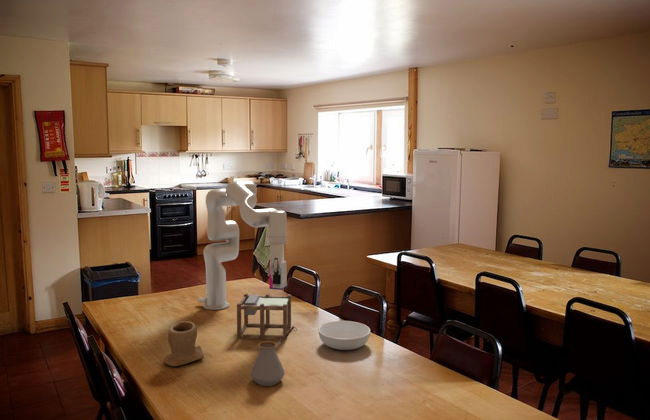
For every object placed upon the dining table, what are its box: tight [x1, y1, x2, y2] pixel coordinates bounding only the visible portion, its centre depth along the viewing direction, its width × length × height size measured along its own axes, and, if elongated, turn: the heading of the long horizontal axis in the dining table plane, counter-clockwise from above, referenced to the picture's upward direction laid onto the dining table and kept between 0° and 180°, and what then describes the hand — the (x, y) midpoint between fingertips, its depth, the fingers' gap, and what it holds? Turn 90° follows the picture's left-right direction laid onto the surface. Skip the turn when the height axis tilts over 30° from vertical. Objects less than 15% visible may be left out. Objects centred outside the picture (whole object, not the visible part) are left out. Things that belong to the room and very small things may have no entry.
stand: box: [236, 293, 292, 340], centre depth 227 cm, size 21×16×14 cm
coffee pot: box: [250, 326, 298, 387], centre depth 183 cm, size 21×12×15 cm, turn 147°
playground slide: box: [245, 294, 289, 316], centre depth 226 cm, size 17×13×5 cm
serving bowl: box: [317, 320, 371, 351], centre depth 213 cm, size 21×21×7 cm
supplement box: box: [268, 260, 288, 291], centre depth 224 cm, size 6×6×12 cm
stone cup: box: [162, 320, 205, 367], centre depth 195 cm, size 15×12×15 cm
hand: (278, 281), depth 224 cm, fingers closed on supplement box, 6 cm apart
